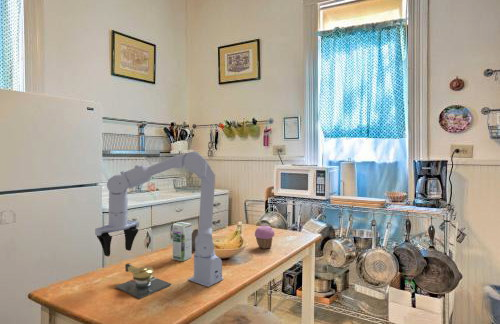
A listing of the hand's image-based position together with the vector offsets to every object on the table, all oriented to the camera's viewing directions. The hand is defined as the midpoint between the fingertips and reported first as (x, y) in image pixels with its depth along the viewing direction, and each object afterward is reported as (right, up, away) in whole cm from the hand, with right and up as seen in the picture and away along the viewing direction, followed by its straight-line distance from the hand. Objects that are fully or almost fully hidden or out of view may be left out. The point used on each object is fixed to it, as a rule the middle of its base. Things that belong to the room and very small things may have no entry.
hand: (117, 252), depth 108 cm
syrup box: (+16, -10, +26) cm, 32 cm away
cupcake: (+50, -9, +41) cm, 65 cm away
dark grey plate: (+9, -11, 0) cm, 14 cm away
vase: (+19, -9, +39) cm, 44 cm away
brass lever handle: (+6, -7, +1) cm, 10 cm away
